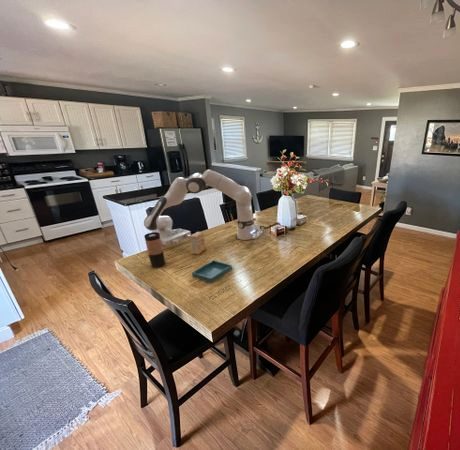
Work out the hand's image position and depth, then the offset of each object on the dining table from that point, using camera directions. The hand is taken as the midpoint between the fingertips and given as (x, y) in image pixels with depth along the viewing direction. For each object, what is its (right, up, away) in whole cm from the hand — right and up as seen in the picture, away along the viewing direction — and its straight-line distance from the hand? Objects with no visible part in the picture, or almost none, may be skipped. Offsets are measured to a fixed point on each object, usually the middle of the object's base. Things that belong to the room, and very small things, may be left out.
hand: (184, 239), depth 165 cm
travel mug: (-6, -14, -20) cm, 25 cm away
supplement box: (+12, -8, -3) cm, 15 cm away
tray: (+30, -17, -28) cm, 44 cm away
